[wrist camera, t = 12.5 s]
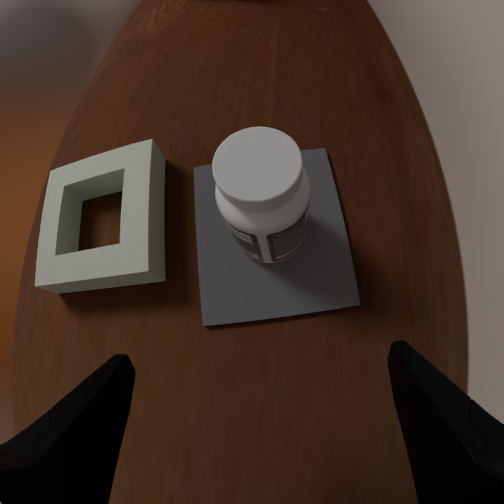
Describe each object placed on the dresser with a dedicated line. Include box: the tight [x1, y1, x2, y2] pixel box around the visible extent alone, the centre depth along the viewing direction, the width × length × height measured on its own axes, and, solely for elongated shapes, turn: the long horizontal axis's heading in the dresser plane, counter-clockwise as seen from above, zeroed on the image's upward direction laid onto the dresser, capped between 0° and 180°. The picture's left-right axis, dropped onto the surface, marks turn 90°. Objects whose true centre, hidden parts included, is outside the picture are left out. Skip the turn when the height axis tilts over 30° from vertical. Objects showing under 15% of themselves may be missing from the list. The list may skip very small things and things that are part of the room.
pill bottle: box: [212, 127, 310, 263], centre depth 20 cm, size 6×6×10 cm
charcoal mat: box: [194, 148, 360, 326], centre depth 25 cm, size 14×12×1 cm
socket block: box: [35, 139, 166, 294], centre depth 26 cm, size 12×12×4 cm
